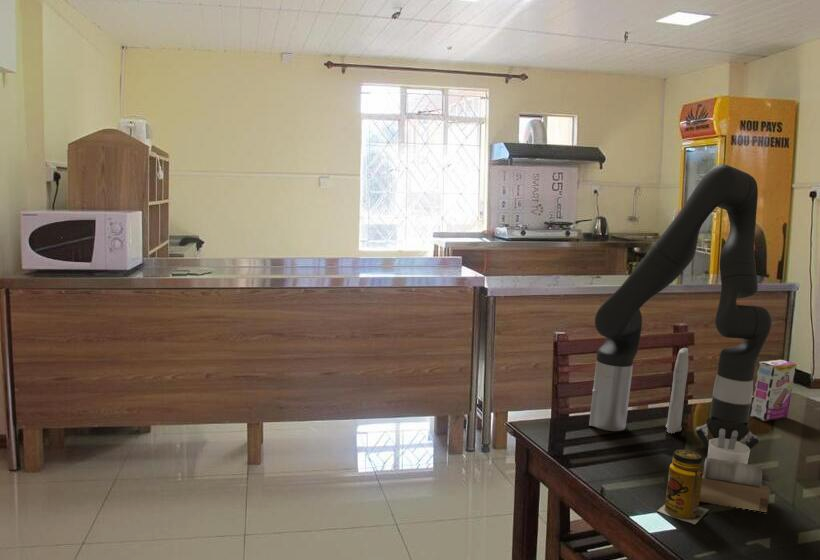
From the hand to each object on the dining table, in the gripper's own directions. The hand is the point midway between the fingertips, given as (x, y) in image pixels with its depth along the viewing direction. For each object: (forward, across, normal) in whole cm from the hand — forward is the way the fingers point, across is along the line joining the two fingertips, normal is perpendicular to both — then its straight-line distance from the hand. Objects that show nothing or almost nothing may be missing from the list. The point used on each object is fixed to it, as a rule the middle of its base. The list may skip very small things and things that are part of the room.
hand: (720, 473), depth 150 cm
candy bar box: (+3, +21, +57) cm, 61 cm away
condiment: (+2, -9, -19) cm, 21 cm away
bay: (+2, 0, -4) cm, 5 cm away
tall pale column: (+3, -7, +32) cm, 33 cm away
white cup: (+2, 0, -5) cm, 5 cm away
